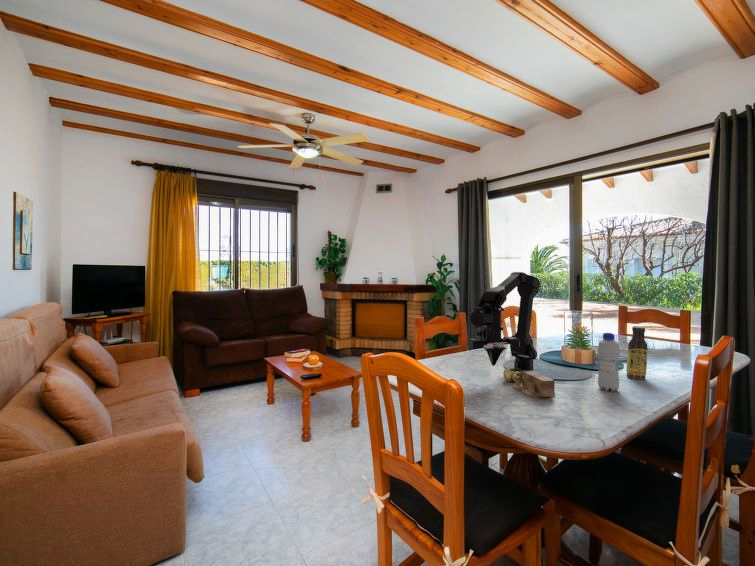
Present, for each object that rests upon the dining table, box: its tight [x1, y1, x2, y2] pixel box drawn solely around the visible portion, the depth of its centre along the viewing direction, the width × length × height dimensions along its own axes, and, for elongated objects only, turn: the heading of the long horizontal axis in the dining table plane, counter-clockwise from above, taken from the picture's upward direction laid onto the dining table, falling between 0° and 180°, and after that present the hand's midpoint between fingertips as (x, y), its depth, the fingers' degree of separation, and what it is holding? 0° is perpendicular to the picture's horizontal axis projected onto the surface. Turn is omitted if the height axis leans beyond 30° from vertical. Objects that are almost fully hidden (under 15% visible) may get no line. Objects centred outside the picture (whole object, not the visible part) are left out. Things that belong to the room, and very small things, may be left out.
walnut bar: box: [522, 370, 555, 397], centre depth 125 cm, size 12×4×5 cm, turn 11°
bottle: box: [597, 332, 621, 392], centre depth 129 cm, size 7×7×20 cm
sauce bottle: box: [626, 326, 648, 381], centre depth 141 cm, size 6×6×20 cm
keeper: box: [509, 367, 525, 383], centre depth 140 cm, size 5×8×4 cm, turn 11°
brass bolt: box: [503, 368, 522, 383], centre depth 140 cm, size 6×5×5 cm
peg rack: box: [512, 376, 556, 399], centre depth 128 cm, size 12×8×4 cm, turn 11°
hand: (493, 365), depth 138 cm, fingers closed
